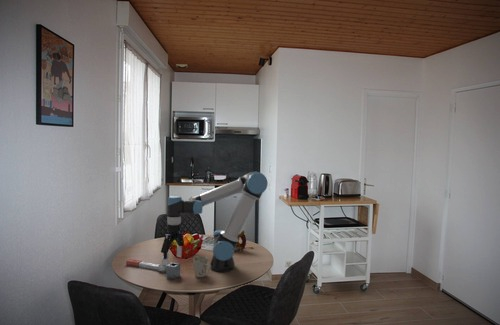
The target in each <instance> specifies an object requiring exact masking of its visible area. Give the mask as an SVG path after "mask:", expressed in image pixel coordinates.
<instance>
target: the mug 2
mask: <svg viewBox="0 0 500 325" xmlns="http://www.w3.org/2000/svg"><path fill="white" fill-rule="evenodd" d="M237 238H238V243H237V245H236V247H235V249H234V253H236V252H238V251H240V250H241V251H243V250H244V249H245V248H246V245H247V238H246V235H245V231H244V230H242V231H240V233H239V235H238V237H237ZM240 239H241V243H240Z"/></svg>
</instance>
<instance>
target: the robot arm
mask: <svg viewBox="0 0 500 325" xmlns="http://www.w3.org/2000/svg"><path fill="white" fill-rule="evenodd" d="M268 183H269V182H268V179H267V177H266V176H265V174H263V173H261V172H259V171H257V170H253V171H250V172H248V173H246V174H244V175H242V176H239V177H238V179H236V180H233V181H230V182H229V183H225V184H223V185H220V186H218V187H215V188H212V189H211V190H208V191H205V192H203V193H201V194H197V195H193V196H191V197H190V198H188V199H182V196H179V195H170V196H168V199H167V218H166V219H167V221H166V223H167V224H166V230H167V232H168V234H167V233H165V235H164V240H163V243H162V246H161V250H160V253H163V254H162V255H163V256H162V257H163V264H165V265H168V264H169V258H170V257H169V254H170V253H169V250H170V249H171V246H172V244H173V243H174V241H175V242H176V244H177V246H176V257H177V258H182V257H183V256H182V254H183V253H182V252H183V246H185V240H184V235H183V230H182V229H181V223H182V214H187V215H189V214H193V215H198V214H199V215H200V214H202V213H203V207H204V206H208V205H209V204H212V203H215V202H217V201H220V200H223V199H225V198H228V197H230V196H233V195H237V194H239V193H241V192H242V193H241V196H240V198H239V200H238V202H237V204H236V206H235V208H234V209H233V212H232V214H231V216H230V218H229V220H228V222H227V224H226V225H225V228H224V229H220V230H219V229H218V230H214V232H213V234H212V235H213V245H212V246H213V247H212V252H213V254H212V258H211V261H210V266H209V268H210V270H211V271H214V272H217V273H218V272H219V273H221V272H230V271H233V270H234V269H235V266H236V263H235V260H234V257H233V256H234V254H235V252H234V249H235V247H236V245H237V243H238V238H237V237H238V235H239V234H240V233H241V232H242V231H241V230H242V228H243V227H244V225H245V223H246V221H247V220H248V219H247V218H248V217H249V214H250V213H251V211H252V209H253V207H254V206H255V203H256V201H257V200H260V199H261V197H262V195H263V193H265V191H266V190H267V189H268Z"/></svg>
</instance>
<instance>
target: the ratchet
mask: <svg viewBox="0 0 500 325" xmlns="http://www.w3.org/2000/svg"><path fill="white" fill-rule="evenodd" d="M125 266H129V267H134V268H141V269H146V270H147V269H148V270H153V271H158V273H163V274H164V273H165V274H166V266H167V265H165V264H163V256H162V257H161V264H157V263H152V262H145V261H142V260H139V259H134V258H133V259H132V258H129V259H127V260H126V261H125Z"/></svg>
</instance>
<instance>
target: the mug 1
mask: <svg viewBox="0 0 500 325" xmlns="http://www.w3.org/2000/svg"><path fill="white" fill-rule="evenodd" d="M208 260H209V259H208V257H207V256H206V255H205V256H204V255H197V256H194V257H193V258H192V262H193V271H194V272H193V273H194V277H196V278H203V277H205V276H209V274H210V272H211V268H210V266H209V264H208Z"/></svg>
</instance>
